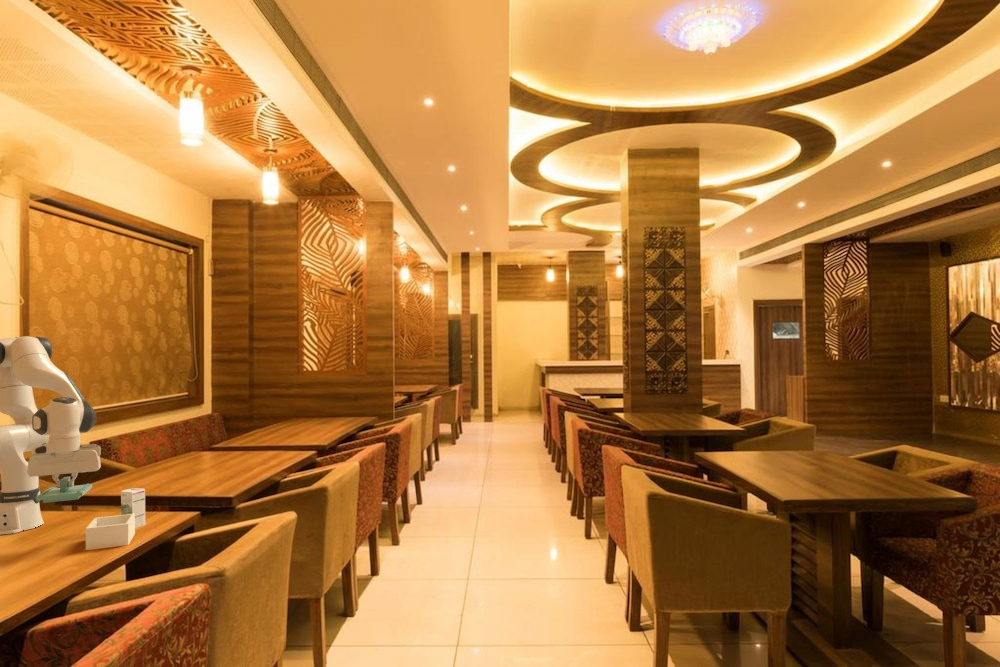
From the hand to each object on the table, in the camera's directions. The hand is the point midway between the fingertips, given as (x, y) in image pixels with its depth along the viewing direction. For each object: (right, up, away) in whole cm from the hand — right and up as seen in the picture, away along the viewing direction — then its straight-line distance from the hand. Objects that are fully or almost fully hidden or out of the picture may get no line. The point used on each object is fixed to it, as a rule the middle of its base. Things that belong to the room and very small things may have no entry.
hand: (65, 487), depth 207 cm
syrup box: (+11, -21, +20) cm, 31 cm away
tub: (+15, -20, +1) cm, 25 cm away
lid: (0, -3, 0) cm, 3 cm away
